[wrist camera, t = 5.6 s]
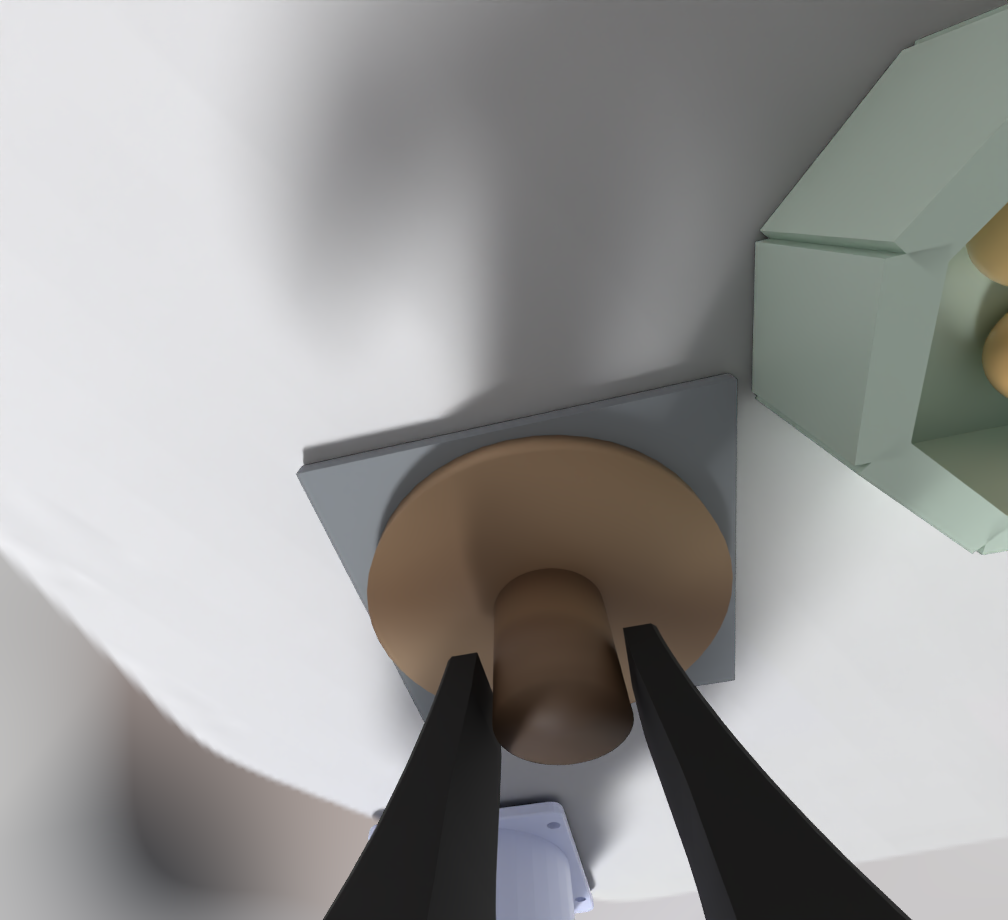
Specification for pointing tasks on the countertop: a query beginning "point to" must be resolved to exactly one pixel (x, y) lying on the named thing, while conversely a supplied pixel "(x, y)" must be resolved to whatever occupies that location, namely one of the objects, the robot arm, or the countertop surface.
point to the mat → (623, 420)
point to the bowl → (903, 287)
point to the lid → (548, 583)
